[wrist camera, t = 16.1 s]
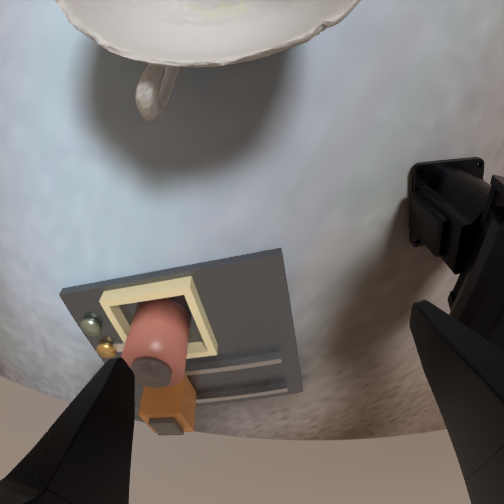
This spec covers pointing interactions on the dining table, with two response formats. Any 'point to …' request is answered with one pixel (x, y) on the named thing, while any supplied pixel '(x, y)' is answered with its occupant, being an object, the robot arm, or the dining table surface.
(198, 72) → the dining table surface
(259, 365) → the panel
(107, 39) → the teacup
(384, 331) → the dining table surface
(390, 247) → the dining table surface
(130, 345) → the salmon cylinder
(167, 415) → the toggle
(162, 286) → the socket
